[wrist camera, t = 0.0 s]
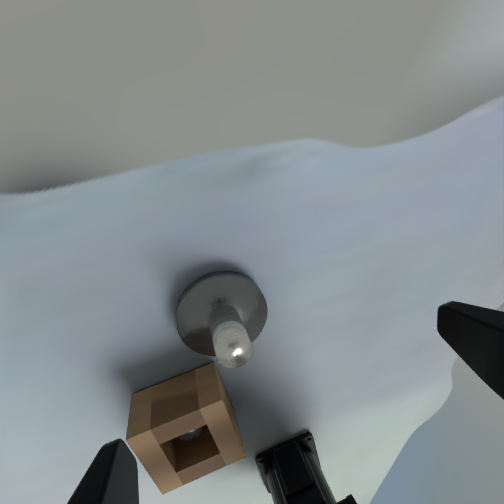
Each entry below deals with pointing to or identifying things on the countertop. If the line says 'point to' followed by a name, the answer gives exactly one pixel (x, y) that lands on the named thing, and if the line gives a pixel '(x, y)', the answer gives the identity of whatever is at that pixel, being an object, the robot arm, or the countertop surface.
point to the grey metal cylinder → (191, 434)
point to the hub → (222, 317)
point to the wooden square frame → (184, 428)
